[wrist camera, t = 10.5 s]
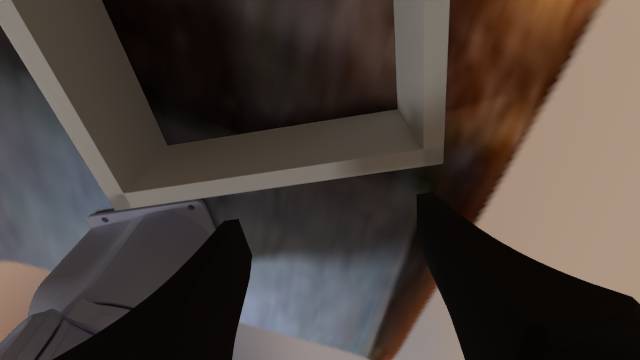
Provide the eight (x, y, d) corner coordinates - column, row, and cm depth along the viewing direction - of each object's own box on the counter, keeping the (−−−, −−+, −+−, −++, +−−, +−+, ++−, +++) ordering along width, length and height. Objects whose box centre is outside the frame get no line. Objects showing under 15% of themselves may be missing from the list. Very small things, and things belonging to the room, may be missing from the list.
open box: (159, 160, 23) (115, 210, 18) (53, -63, 16) (-68, -85, 11) (413, 120, 22) (443, 163, 17) (409, -141, 15) (458, -205, 10)
